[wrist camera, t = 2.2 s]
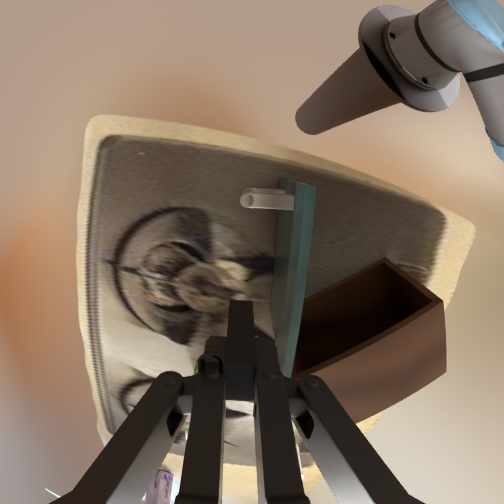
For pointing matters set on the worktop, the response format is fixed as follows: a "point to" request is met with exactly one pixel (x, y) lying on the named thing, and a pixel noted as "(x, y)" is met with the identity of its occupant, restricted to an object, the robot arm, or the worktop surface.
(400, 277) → the cupboard
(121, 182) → the worktop surface
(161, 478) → the purple printed carton
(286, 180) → the cupboard door
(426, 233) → the worktop surface
